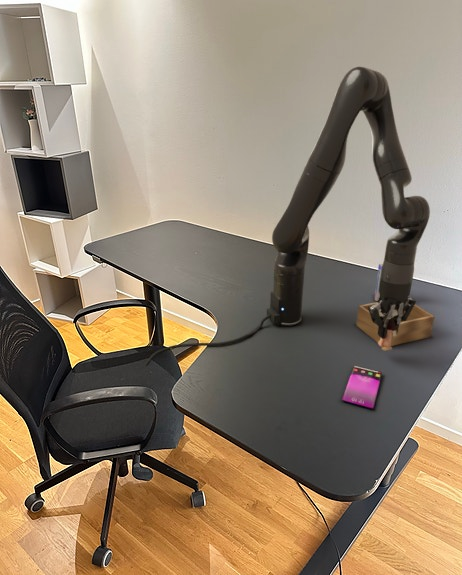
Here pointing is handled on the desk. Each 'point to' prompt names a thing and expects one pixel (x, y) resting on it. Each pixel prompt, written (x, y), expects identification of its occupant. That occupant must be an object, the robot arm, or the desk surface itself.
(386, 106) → the robot arm
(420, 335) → the birch box
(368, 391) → the smartphone
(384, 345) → the grandmother figurine
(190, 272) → the desk surface
